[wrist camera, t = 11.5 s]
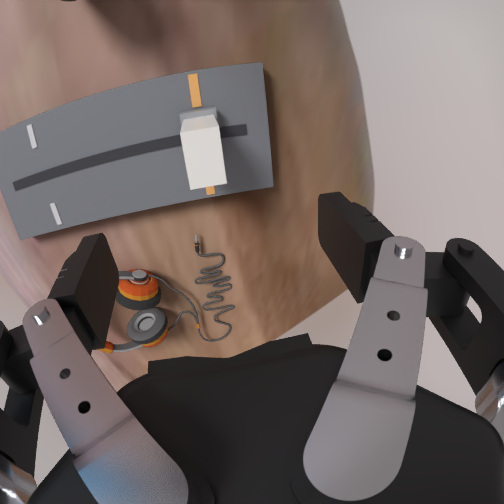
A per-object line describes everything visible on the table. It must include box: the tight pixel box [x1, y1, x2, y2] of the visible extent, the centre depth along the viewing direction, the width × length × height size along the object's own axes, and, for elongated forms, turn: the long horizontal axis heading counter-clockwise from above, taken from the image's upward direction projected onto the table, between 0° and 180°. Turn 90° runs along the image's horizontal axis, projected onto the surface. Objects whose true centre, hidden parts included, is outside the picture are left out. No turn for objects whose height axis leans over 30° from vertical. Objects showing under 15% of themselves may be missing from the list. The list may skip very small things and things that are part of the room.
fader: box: [179, 107, 227, 190], centre depth 23 cm, size 5×3×7 cm, turn 6°
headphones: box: [98, 235, 235, 353], centre depth 35 cm, size 17×5×20 cm
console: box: [0, 62, 274, 240], centre depth 26 cm, size 12×28×2 cm, turn 96°
